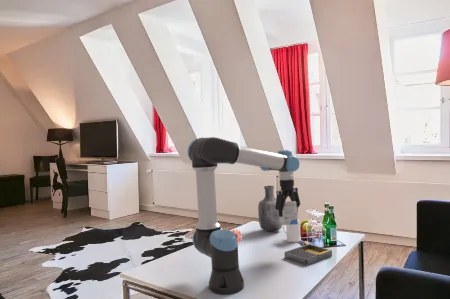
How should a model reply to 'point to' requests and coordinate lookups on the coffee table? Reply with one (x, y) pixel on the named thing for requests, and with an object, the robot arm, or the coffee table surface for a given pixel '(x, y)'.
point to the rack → (308, 254)
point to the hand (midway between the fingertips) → (288, 220)
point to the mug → (293, 232)
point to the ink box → (290, 213)
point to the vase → (269, 212)
